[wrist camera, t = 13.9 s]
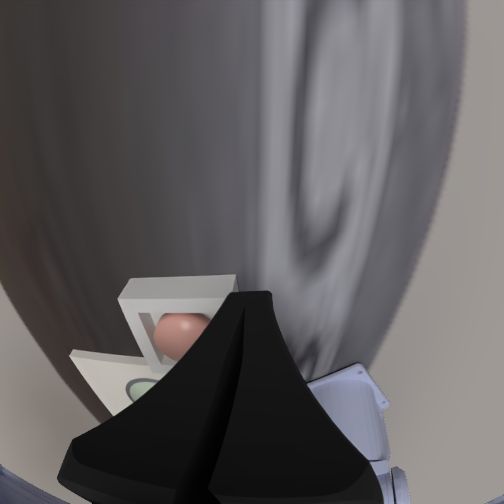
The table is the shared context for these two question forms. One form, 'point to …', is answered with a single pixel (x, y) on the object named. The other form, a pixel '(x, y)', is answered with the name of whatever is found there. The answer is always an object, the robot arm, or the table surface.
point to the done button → (178, 333)
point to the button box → (170, 307)
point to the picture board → (115, 377)
